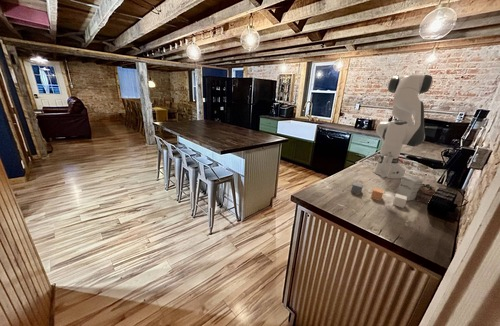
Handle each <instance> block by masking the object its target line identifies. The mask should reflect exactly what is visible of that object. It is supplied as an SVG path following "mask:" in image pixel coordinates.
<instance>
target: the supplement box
mask: <svg viewBox="0 0 500 326" xmlns="http://www.w3.org/2000/svg"><path fill="white" fill-rule="evenodd" d="M400 179H401V180H400V183H399V185H398V188H397V191H396V194H400V195H403V196H407V201H408V202H409V201H414V200H416V196H417V191H418V190H419V189H420V187H421V185H422V184H423V182H424V180H423V179H421V178H418V177H416V176H413V175H409V174H407V176H403V177H402V178H400Z"/></svg>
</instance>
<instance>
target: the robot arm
mask: <svg viewBox="0 0 500 326" xmlns="http://www.w3.org/2000/svg"><path fill="white" fill-rule="evenodd" d="M433 81H434V80H433V76H432V75H429V74H415V73H413V74H404V75H395V76H392V77H391V78H390V80H389V81H388V83H387V91H388V92H389V93H391V94H394V95H393V106H392V110H391V114H392V116H393V117H394V118H395V119H393V120H391V121H381V122H379V123H378V124H377V125H376V128H375V131H376V134H377V135H378V136H379V138H380V139H381V143H382V145H381V147H380V152H379V153H380V154H379V155H378V159H377V163H376V165H375V167H374V169H373V170H372V173H374V174H376V175H378V176H380V177H381V178H385V177H386V178H388V179H402V177H403V176H408V174H405V173H406V170H405V167H404V166H402V164H400V163H402V162H403V161H404V160H403V158H399V157H400V154H401V151H402V149H403V145H405V146H406V145H407V146H408V147H418V146H420V145H422V144H423V142H424V141H425V139H426V132H425V106H424V105H425V103H424V101H421V100H420V98H419V95H420V96H421V94H426V93H427V92H429V90H430V89H431V88H432V87H433V84H434V82H433ZM412 116H413V117H412Z"/></svg>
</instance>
